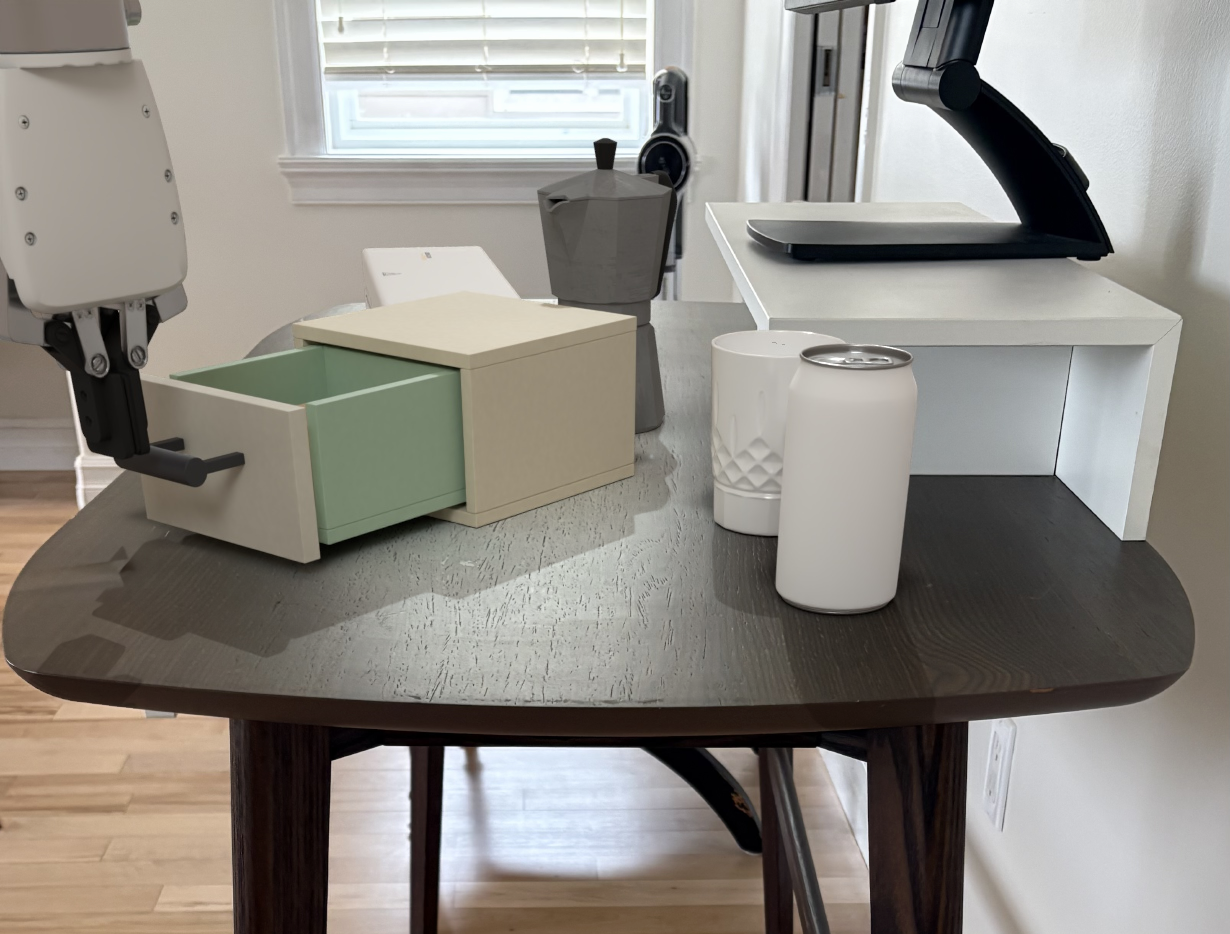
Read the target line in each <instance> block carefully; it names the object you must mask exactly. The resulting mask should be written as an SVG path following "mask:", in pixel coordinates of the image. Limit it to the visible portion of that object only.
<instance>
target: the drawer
mask: <svg viewBox="0 0 1230 934" xmlns="http://www.w3.org/2000/svg"><path fill="white" fill-rule="evenodd" d="M460 369H461V368H458V367H453V366H447V365H442V364H436V363H431V362H425V361H420V360H414V359H409V358H403V357H398V356H392V355H387V354H381V353H376V352H370V351H365V350H359V349H354V348H349V347H343V346H338V345H332V344H327V343H321V344H316V345H311V346H306V347H301V348H297V349H295V348H292V349H287V350H283V351H277V352H273V353H268V354H267V353H266V354H263V355H259V356H258V355H257V356H253V357H248V358H243V359H238V360H233V361H228V362H223V363H218V364H212V365H209V366H202V367H198V368H194V369H189V370H188V369H187V370H184V371H178V372H174V373H169V376H168V377H169V378H168V377H165V376H164V377H163V376H159V375H154V374H150V373H145V372H139V373H140V379H141V385H142V391H143V396H144V402H145V408H146V414H147V420H148V428H147V431H148V437H149V442H150V452H149V453H148V454H144V455H135V454H133V457H132V458H129V459H125V460H121V459H117V458H113V457H112V460H113V461H114V463H115V465H116V466H117V467H119V468H120V469H122V470H127V471H130V472H134V473H137V474H139V476H140V481H141V487H142V495H143V501H144V506H145V511H146V518H147V520H150V521H153V522H158V523H161V524H164V525H168V526H172V527H174V528H179V529H182V530H185V531H189V532H193V533H196V534H200V535H203V536H206V537H209V538H214V539H218V540H220V541H223V542H228V543H231V544H235V545H238V546H242V547H245V548H249V549H252V550H255V551H259V552H262V553H267V554H270V555H273V556H277V557H281V558H284V559H287V560H291V561H295V562H297V563H302V564H308V563H311V562H314V561H318V560H320V559H321V551H320V543H321V544H325V545H328V546H329V545H333V544H337V543H339V542H343V541H345V540H348V539H352V538H354V537H355V538H356V537H358V536H362V535H364V534H368V533H371V532H374V531H377V530H380V529H383V528H387V527H389V526H393V525H397V524H399V523H402V522H405V521H409V520H412V519H414V518H418V517H422V516H426V515H425V514H428V513H431V512H434V511H437V510H441V509H444V508H447V507H450V506H453V505H456V504H460V503H463V502H466V482H465V460H464V438H463V416H462V394H461V372H460ZM304 403H306V410H305V408H304V407H300V406H296V405H300V404H304ZM306 414H307V420H306ZM307 424H308V430H307ZM308 434H309V440H308ZM309 444H310V450H309ZM310 454H311V460H310ZM311 464H312V470H311ZM312 475H313V480H312ZM313 485H314V490H313ZM314 495H315V500H314ZM315 505H316V507H315Z"/></svg>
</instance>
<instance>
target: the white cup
mask: <svg viewBox="0 0 1230 934" xmlns="http://www.w3.org/2000/svg"><path fill="white" fill-rule="evenodd" d="M772 342H776V343H777V344H776V343H772ZM782 344H785V345H782ZM828 344H849V343H848V342H847V341H846V340H844V339H842V338H839V337H836V336H832V335H828V334H824V333H818V332H811V331H802V330H789V329H788V330H787V329H755V330H741V331H735V332H734V331H733V332H729V333H724V334H721V335H720V334H719V335H718V336H715V337H714V338H713V339H712V340H711V341H710V448H711V449H710V450H711V472H712V475H713V521H714V522H715V523H716V524H717V525H718V526H719V525H720V526H721V527H722V528H724V529H726V530H729V531H733V532H735V533H736V532H737V533H740V534H745V535H753V536H764V537H778V534H779V519H780V504H781V489H782V475H783V460H784V446H785V432H786V418H787V405H788V394H789V387H790V384H791V381H792V379H793V377H794V375H795V373H796V371H797V369H798V367H799V365H800V362H801V358H800V356H799V354H800V352H801V351H802V350H804V349H806V348H809V347H814V346H819V345H828Z"/></svg>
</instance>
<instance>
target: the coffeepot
mask: <svg viewBox="0 0 1230 934" xmlns="http://www.w3.org/2000/svg"><path fill="white" fill-rule="evenodd" d="M592 144H593V149H594V156H595V162H596V163H595V164H596V169H594V170H593V169H592V170H590V171H586V172H583V173H580V174H578V175H574V176H571V177H568V178H564V179H562V180H558V181H556V182H553V183H549V184H547V185H545V186H543V187H541V188H538V189H537V190H536V193H537V200H538V207H539V214H540V222H541V227H542V229H541V230H542V235H543V243H544V250H545V256H546V257H545V258H546V263H547V270H548V271H547V272H548V277H549V284H550V291H551V295H553V296H554V297H556V298H557V305H562V306H569V307H576V308H582V309H589V310H596V311H603V312H609V313H616V314H623V315H629V316H636V317H637V330H635V331H636V381H635V434H639V433H645V432H648V431H653V430H655V429H657V428H659V427H660V426H661V425H662V423H663V420H664V417H665V416H666V411H665V401H664V393H663V384H662V377H661V370H660V362H659V354H658V353H659V352H658V346H657V337H656V330H655V327H654V325H653V324H652V323H650V322H651V320H652V314H651V313H652V300H654V299H656V298H657V297H658V296H660V295H661V292H662V287H663V286H662V285H663V281H664V275H665V271H666V266H667V262H668V257H669V251H670V244H671V239H672V233H673V228H674V223H675V218H676V215H677V210H678V195H677V194H678V193H677V191H676V189H675V187H674V184H673V182H672V179H671V178H670V176H669V174H668V173H667V172H666V171H664V170H660V169H658V170H653V171H649V173H639V174H629V173H627V172H623V171H621V170H617V169H615V168H614V165H615V159H616V154H617V153H616V152H617V147H618V141H616V140H614V139H612V138H609V137H601V138H600V139H597V140H595V141H593V143H592Z"/></svg>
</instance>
